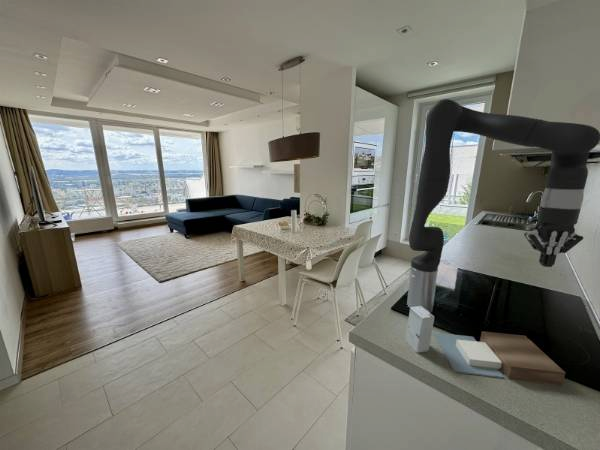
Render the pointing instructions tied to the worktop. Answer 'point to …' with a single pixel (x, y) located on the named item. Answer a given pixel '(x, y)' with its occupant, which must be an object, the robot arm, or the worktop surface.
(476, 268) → the worktop surface
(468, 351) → the coaster
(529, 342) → the stand
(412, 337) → the skincare box
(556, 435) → the worktop surface
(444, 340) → the mat
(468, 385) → the worktop surface
